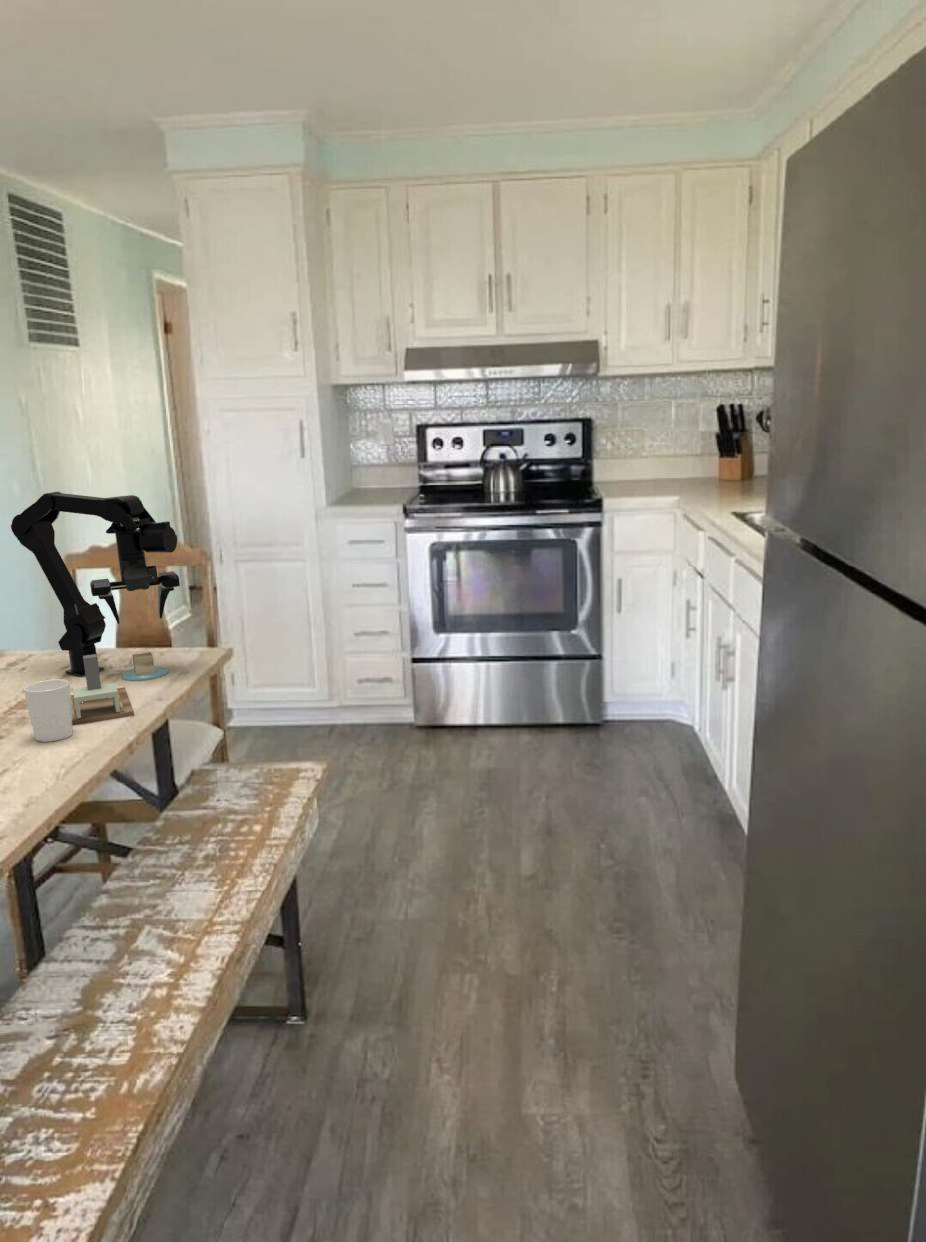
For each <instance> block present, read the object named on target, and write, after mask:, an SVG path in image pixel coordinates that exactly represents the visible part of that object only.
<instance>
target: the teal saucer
mask: <svg viewBox="0 0 926 1242" xmlns="http://www.w3.org/2000/svg"><path fill="white" fill-rule="evenodd" d="M154 671H155V673H150V674H143V675H136V674H135V671H134V668H131V669H128V670H125V671H124V672H122V673H121V677H122V680H124V681H127V682H143V681H144V682H147V681H150V680H157V679H159V677H160V678H163V677H165V676H166V675H168V674H169V671H168V667H166V666H161V665H154ZM162 676H163V677H162ZM156 678H157V679H156Z"/></svg>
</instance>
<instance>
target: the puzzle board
mask: <svg viewBox="0 0 926 1242" xmlns="http://www.w3.org/2000/svg"><path fill="white" fill-rule="evenodd" d="M116 688H117V691H118V698H119V706H120V712H116V710H115V707H114V704H113V697H109V698H103V699H96V700H90V701H83V703H82V702H79V706H80V713H81V718H77V715H76V710H75V703H74V695H73V694H71V705H72V724H73V726H79V725H83V724H84V725H85V724H90V723H91V724H92V723H96V722H97V723H98V722H102V721H111V720H115V719H122V718H128V717H134V716H135V712H134V708H133V705H132V703H131V700H130V698H129V695H128V693H127V690H126V687H125V686H123V687H116Z"/></svg>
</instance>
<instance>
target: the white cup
mask: <svg viewBox="0 0 926 1242" xmlns="http://www.w3.org/2000/svg"><path fill="white" fill-rule="evenodd" d="M23 692H24V697H25V700H26V706H27V711H28V716H29V718H30V719H29V720H30V724H31V727H32V732H33V736H34V740H36V741H37V742H41V743H43V742H45V743H46V742H47V743H48V742H56V741H61V740H64V739H68V738H69V737H71V736H72V735H73V733H74V725H73V724H72V705H71V695H72V694H71V685H70V681H69V680H67V679H62V678H61V679H47V680H46V679H45V680H41V681H36V682H33V683H29V684H27V685H25V687H24V688H23Z"/></svg>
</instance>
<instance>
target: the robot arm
mask: <svg viewBox="0 0 926 1242" xmlns="http://www.w3.org/2000/svg"><path fill="white" fill-rule="evenodd" d="M60 512H63V513H71V514H78V515H79V514H80V515H90V516H97V517H100V518H101V519H102V520H105V521H107V522H109V523H110V522H111V525H110V526H109V527H108V528H107V529H106V531H105V533H106V534H109V535H110V534H111V535H112V534H115V542H116V549H117V558H118V564H119V565H118V566H119V575H120V580H118V581H117V580H116V581H110V580H109V578H101V579H100V578H99V579H93V580H91V581H90V583H89V586H90V593H91V595H92V597H98V599H99V600H104V601H105V602H106V604H107V605H108V607H109V608H110V610H111V612H112V615H113V617H114V619H115V621H116V623H117V624H118V625H120V617H119V613H118V609H117V606H116V603H115V597H114V595H113V592H112V591H115V590H116V591H117V590H118V591H119V590H123V589H124V590H125V589H126V591H128V592H134V591H137V590H144V591H145V590H148V589H150V586H151V587H152V586H157V592H158V593H157V594H158V595H157V598H158V599H157V601H158V609H157V610H158V617H159V619H162V618H163V614H164V611H165V610H164V609H165V606H166V601H167V598H168V596H169V594H170V593H171V592H174V590H175V587H181V586H180V585H181V583H180V578H179V575H178V574H177V573H176V572H175V571H165V572H158V570H157V566H156V565H147V561H146V559H147V558H146V553H148V554H149V553H150V554H151V553H152V554H153V553H155V554H156V553H157V554H158V553H159V554H161V553H163V554H165V553H170V554H171V553H173V552H174V551H176V548H177V546H178V536H177V534H176V531H175V529H174V528H173V527H171V524H170V523H171V522H170V521H168V520H167V521H161V522H156V520H155V519H154V517H152V515H151V514H150V513H149V512H148V510H147V509H146V508H145V506H144V504H143V502H142V500H141V499H140V497H139V496H136V495H133V494H132V495H130V494H129V495H120V496H110V497H109V496H108V497H100V496H99V497H98V496H91V495H90V496H89V495H82V494H72V493H65V492H64V493H63V492H60V491H53V492H52V491H51V492H46V493H44V494H42V495H41V496H40V497H39V498H38V499H37V500H36V501H35V502H34V503H32V504H31V505H30V506H28V507H27V508H25V509H24V510H23V511H22V512H21V513H19V514H16V515H15V516H14V517H13V519H12V521H11V524H10V529H11V532H12V534H13V535H14V536H15V538H16V540H18V542H19V543H20V545H22V546H23V547H25V548H26V549H27V550H28V551H29V552H31V553H32V554H33V555H34V557H35V559H36V560H37V563H38V564H39V566H40V568H41V570H42V572H43V574H44V576H45V578H46V579H47V581H48V582H49V585H50V587H51V588H52V590H53V592H54V594H55V596H56V597H57V599H58V601H59V603H60V605H61V607H62V609H63V625H64V627H65V630H66V631H65V633H64V634H63V635H62V637H61V638H60V639H59V641H58V646H59V647H60V649H61V651H67V652H68V656H69V665H70V669H67V670H65V671H64V673H65V674H69V675H72V676H73V675H74V676H78V677H82V676H86V674H85V667H84V660H83V656H86V655H93V654H96V655H97V656H98V654H97V649H96V645H95V644H97V643H101V642H102V637H103V634H104V632H105V629H106V621H105V619H106V616H105V615H104V614H103V613H102V612H101V609H100V606H99V605H98V603H97V602H96V603H92V604H90V603H89V602H88V601H87V600H85V599H84V597H83V595H82V593H81V591H80V589H79V588H78V586H77V584H76V582H75V580H74V578H73V576H72V575H71V573H70V571H69V569H68V567H67V565H66V563H65V561H64V559H63V558H62V556H61V554H60V552H59V550H58V549H57V547H56V544H55V537H56V536H55V535H56V534H55V529H54V526H53V524H54V523H55V522H56V520H57V519H58V517H59V516H60ZM97 660H98V661H99V659H98V658H97ZM98 667H99V672H101V671H104V670H105V666H104V667H103V666H99V665H98Z"/></svg>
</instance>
